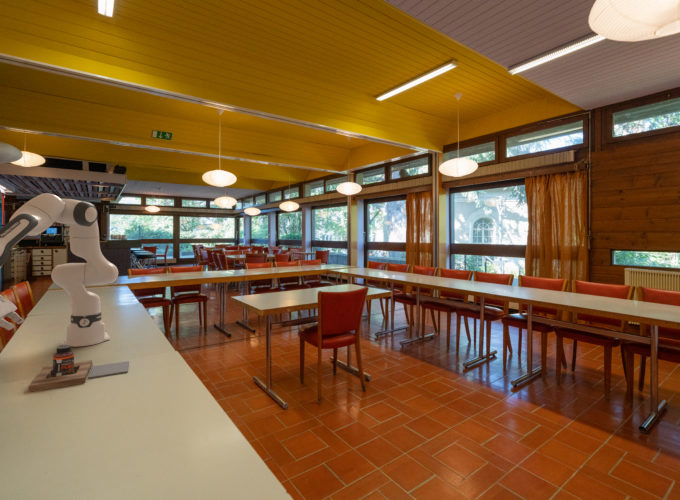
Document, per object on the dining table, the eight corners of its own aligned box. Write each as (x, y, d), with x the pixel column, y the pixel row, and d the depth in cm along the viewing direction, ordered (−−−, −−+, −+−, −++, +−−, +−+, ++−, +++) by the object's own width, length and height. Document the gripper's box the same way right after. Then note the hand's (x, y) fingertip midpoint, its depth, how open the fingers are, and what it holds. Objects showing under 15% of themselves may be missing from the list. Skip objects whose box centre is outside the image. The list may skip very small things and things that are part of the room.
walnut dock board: (43, 371, 124) (43, 366, 124) (92, 365, 132) (92, 360, 132) (28, 391, 108) (28, 385, 108) (84, 382, 116) (84, 377, 116)
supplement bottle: (61, 381, 116) (61, 349, 116) (48, 379, 118) (48, 348, 117) (78, 374, 122) (78, 344, 122) (65, 373, 124) (65, 343, 123)
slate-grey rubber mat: (93, 367, 129) (93, 366, 129) (129, 362, 135) (129, 360, 135) (88, 378, 119) (88, 377, 119) (127, 372, 125) (127, 371, 125)
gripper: (-28, 296, 100) (15, 324, 105) (-3, 288, 118) (34, 312, 123) (-50, 312, 98) (-4, 340, 103) (-20, 301, 115) (18, 326, 121)
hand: (17, 325), depth 113 cm, fingers open, 8 cm apart
